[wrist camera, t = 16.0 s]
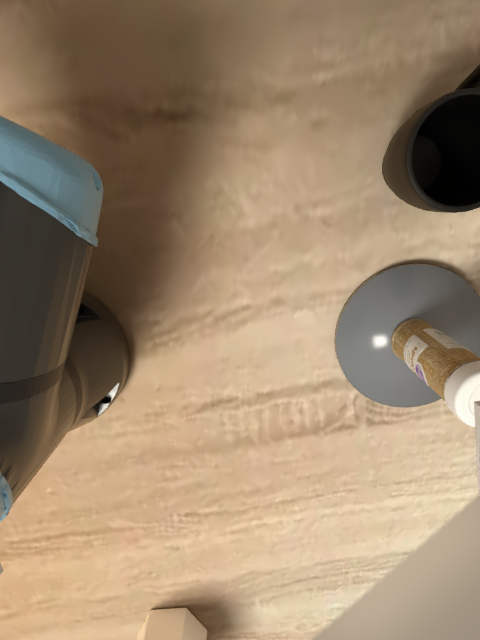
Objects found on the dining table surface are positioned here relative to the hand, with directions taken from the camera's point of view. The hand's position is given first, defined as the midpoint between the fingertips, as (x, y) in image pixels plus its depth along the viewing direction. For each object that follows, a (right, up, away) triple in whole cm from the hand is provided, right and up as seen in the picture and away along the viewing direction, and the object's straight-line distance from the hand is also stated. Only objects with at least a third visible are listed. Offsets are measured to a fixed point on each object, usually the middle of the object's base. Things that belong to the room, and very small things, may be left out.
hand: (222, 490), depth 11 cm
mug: (+17, +20, +27) cm, 38 cm away
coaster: (+18, +3, +32) cm, 37 cm away
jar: (-8, -35, +43) cm, 56 cm away
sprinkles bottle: (+18, +3, +31) cm, 36 cm away
